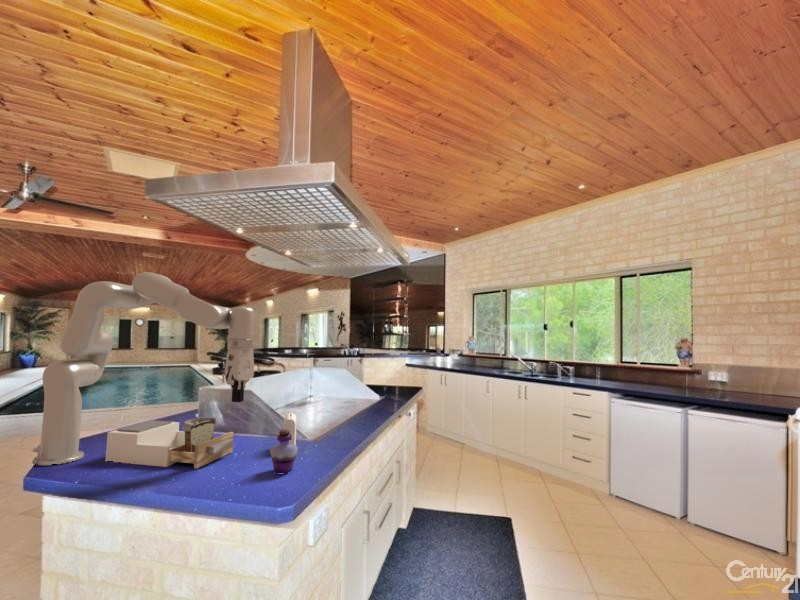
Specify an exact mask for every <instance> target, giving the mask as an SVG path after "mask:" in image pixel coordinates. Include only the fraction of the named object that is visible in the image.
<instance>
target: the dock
mask: <svg viewBox="0 0 800 600" xmlns="http://www.w3.org/2000/svg"><path fill="white" fill-rule="evenodd" d="M184 444H185V432H184V430H180V422H177V421H166V420H147V421H143V422H141V423H140V422H139V423H137V424H131V425H128V426H125V427H120V428H117V429H116V430H111V431H108V432H107V437H106V449H105V462H107V461H113V462H112V463H118V462H121V464H129V463H130V465H131V464H132V465H142V466H144V465H145V466H153V467H154V466H155V467H165V468H166V467H169V466H172V465H174V464H176V463H178V462H172V461H169V450H171V449H173V448H176V447H179V446H181V445H184Z"/></svg>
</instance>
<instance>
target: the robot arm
mask: <svg viewBox="0 0 800 600" xmlns="http://www.w3.org/2000/svg"><path fill="white" fill-rule="evenodd" d="M153 304H157V305H159V306H162V307H164V308H165V309H167V310H170V311H172V312H173V313H174V314H176V315H178V316H179V317H180V318H182V319H185V320H186V321H189V322H191V323H193V324H196V325H197V326H199V327H202V328H204V329H213V330H214V329H215V330H216V329H217V330H225V329H228V339H227V341H228V342H227V352H226V359H225V366H224V367H225V368H224V379H225V380H227V381H226V384H227V385H228V386H230V389H231V402H232V403H242V402H244V401H245V400H244V398H245V397H244V394H245V388H246V384H247V383H248V382H249V381H250V380H251V379H253V378H254V375H255V357H254V349H253V342H254V323H255V322H254V321H255V320H254V319H255V311H254V309H253V308H252V307H248V306H247V307H246V306H234V307H226V306H221V305H215V304H212V303H209V302H207V301H205V300H203V299H200V298H198V297H197V296H194V294H191V293H190V291H189V289H188V288H187V287H185V286H183V285H180V284H178V283H176V282H174V281H172V279H170V278H169V277H168V276H166V275H162V274H160V273H155V272H151V271H144V272H140V273H137V274H136V275H135V276H134V278H133V279H132V283H131V284H125V283H120V282H115V281H108V280H107V281H101V280H99V281H95V282H91V283H89V284H87V285H85V286H84V287H83V288H82V289H81V290H80V291H79V293H78V295H77V298H76V301H75V305H74V309H73V311H72V314H71V316H70V319H69V320H68V324H67V326H66V329H65V331H64V334H63V336H62V339H61V342H60V349H61V351H62V352H63V354H65V355H67V356H69V357H78V358H67V359H66V358H64V359H59V360H56V361H53V362H51V363H49V364H48V365H47V366H46V367H45V369H44V371H43V374H42V385H43V392H44V394H43V395H44V396H43V397H44V400H43V412H42V413H43V414H42V424H41V425H42V426H41V436H40V444H38V446H36V447H34V448H32V452H33V453H37V456H36V457H33V458H32V462H31V463H32V465H35V464H36V463H37V461H38V460H39V459H40V460H39V461H38V463H37V464H38V465H37V464H36V465H35V466H53V465H52V464H57V465H61V464H62V463H63V464H68V463H73V462H75V461H78V460H81V459H82V458H84V457H85V452H84V451H82V450H79V448H80V447H79V445H80V435H81V424H82V423H81V422H82V412H83V409H82V408H83V397H82V393H81V391H80V388H81V387H86V386H91V385H93V384H95V383H96V382H98V381H99V380H100V379H101V377H102V376H103V373H104V371H105V368H106V365H107V364H108V359H109V357H110V354H111V352H112V348H113V344H114V339H113V336H112V334H111V332H110V331H108V330H107V329H105V328H102V325H103V323H104V322H105V321H104V320H105V310H104V309H106V308H109V309H115V310H125V311H127V310H129V311H130V310H135V309H139V308H141V307H145V306H149V305H153ZM42 455H43V456H42ZM41 456H42V457H41ZM72 461H73V462H72ZM67 462H68V463H67Z"/></svg>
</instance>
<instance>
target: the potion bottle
mask: <svg viewBox="0 0 800 600" xmlns="http://www.w3.org/2000/svg"><path fill="white" fill-rule="evenodd" d="M278 433H279V434H277V435H276V440H277V442H278V444H277V445H276V444H275V445H273V446H271V447H269V453H270V458H271V461H272V466H273V473H274V472H275V473H288V472H290V471H292V472H293V467H294V463H295V460H296V458H297V455H298V450H299V447H298V446H297V444H296V445H291V444H289V440H292V435H291V434H290V431H289V430H284V429H281V430H279V431H278Z"/></svg>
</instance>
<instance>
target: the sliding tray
mask: <svg viewBox="0 0 800 600" xmlns="http://www.w3.org/2000/svg"><path fill="white" fill-rule="evenodd" d="M233 447H234V431H229V432H226V433H224V434H221V435H218V436H216V437H213V439H211V440H208V441H206V442H203V443H200V444H198V445H195V453H192V452H185V444H184V445H181V446H179V447H176V448H173V449H171V450H169V461H172V462H177V463H187V464H194V465H193V469H199V468H201V467H203V466H205V465H207V464H210V463H212V462H213V461H216V460H218V459H220V458H222V457H224V456H227V455H228V454H231V453H233V450H234V448H233Z"/></svg>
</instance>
